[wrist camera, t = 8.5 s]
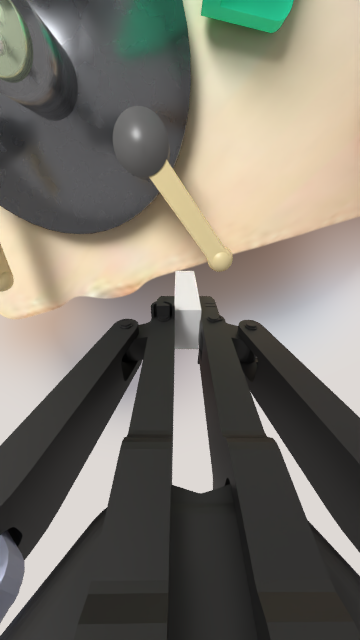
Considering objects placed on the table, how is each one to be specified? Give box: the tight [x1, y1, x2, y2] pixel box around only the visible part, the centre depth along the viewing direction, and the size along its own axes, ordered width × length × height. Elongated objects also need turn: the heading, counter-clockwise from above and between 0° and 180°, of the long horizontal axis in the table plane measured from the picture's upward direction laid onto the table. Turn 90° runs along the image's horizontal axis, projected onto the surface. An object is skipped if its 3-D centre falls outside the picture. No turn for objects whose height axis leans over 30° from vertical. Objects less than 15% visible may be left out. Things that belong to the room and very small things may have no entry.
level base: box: [0, 0, 191, 234], centre depth 18 cm, size 28×28×10 cm
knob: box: [113, 106, 233, 272], centre depth 23 cm, size 18×5×5 cm, turn 38°
